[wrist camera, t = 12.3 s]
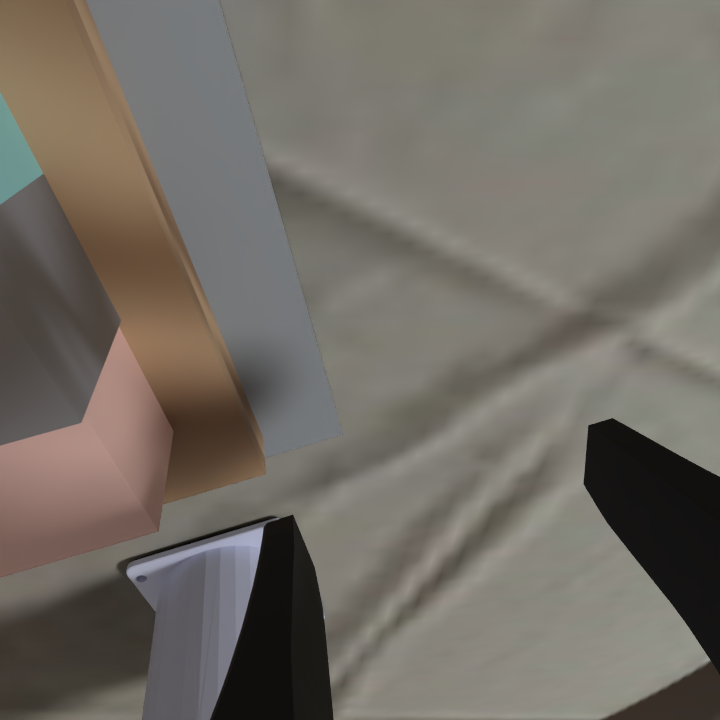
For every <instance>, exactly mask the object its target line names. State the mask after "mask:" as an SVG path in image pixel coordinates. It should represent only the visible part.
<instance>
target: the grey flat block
mask: <svg viewBox="0 0 720 720" xmlns="http://www.w3.org/2000/svg"><path fill="white" fill-rule="evenodd" d="M86 2H87V5H88V7H89V10H90V12H91V15H92V17H93V19H94V22H95V24H96V27H97V29H98V32H99V34H100V37H101V39H102V42H103V44H104V47H105V49H106V52H107V54H108V56H109V59H110V61H111V64H112V66H113V69H114V71H115V74H116V76H117V79H118V81H119V84H120V86H121V88H122V91H123V93H124V96H125V98H126V101H127V103H128V106H129V108H130V111H131V113H132V116H133V118H134V120H135V123H136V125H137V128H138V130H139V133H140V135H141V138H142V140H143V143H144V145H145V148H146V150H147V152H148V155H149V157H150V160H151V162H152V165H153V167H154V170H155V172H156V175H157V177H158V180H159V182H160V185H161V187H162V189H163V192H164V194H165V197H166V199H167V202H168V204H169V207H170V209H171V212H172V214H173V217H174V219H175V221H176V224H177V226H178V229H179V231H180V234H181V236H182V239H183V241H184V244H185V246H186V249H187V251H188V253H189V256H190V258H191V261H192V263H193V266H194V268H195V271H196V273H197V276H198V278H199V281H200V283H201V285H202V288H203V290H204V293H205V295H206V298H207V300H208V303H209V305H210V308H211V310H212V313H213V315H214V317H215V320H216V322H217V325H218V327H219V330H220V332H221V335H222V337H223V340H224V342H225V345H226V347H227V350H228V352H229V354H230V357H231V359H232V362H233V364H234V367H235V369H236V372H237V374H238V377H239V379H240V382H241V384H242V386H243V389H244V391H245V394H246V396H247V399H248V401H249V404H250V406H251V409H252V411H253V414H254V416H255V418H256V421H257V423H258V426H259V428H260V431H261V433H262V436H263V441H264V454H265V458H266V457H269V456H273V455H276V454H280V453H283V452H286V451H290V450H293V449H297V448H300V447H303V446H307V445H310V444H314V443H317V442H320V441H324V440H327V439H331V438H334V437H337V436H341V435H343V433H342V430H341V426H340V423H339V419H338V415H337V412H336V408H335V405H334V401H333V397H332V394H331V390H330V387H329V383H328V380H327V376H326V373H325V369H324V366H323V362H322V359H321V355H320V352H319V348H318V345H317V341H316V338H315V334H314V331H313V327H312V324H311V320H310V317H309V313H308V310H307V306H306V303H305V299H304V296H303V292H302V289H301V285H300V282H299V278H298V275H297V271H296V268H295V264H294V261H293V257H292V254H291V250H290V247H289V243H288V240H287V236H286V233H285V229H284V226H283V222H282V219H281V215H280V212H279V208H278V205H277V201H276V198H275V194H274V191H273V187H272V184H271V180H270V177H269V173H268V170H267V166H266V163H265V159H264V156H263V152H262V149H261V145H260V142H259V138H258V135H257V131H256V128H255V124H254V121H253V117H252V114H251V110H250V107H249V103H248V100H247V96H246V93H245V89H244V86H243V82H242V79H241V75H240V72H239V68H238V65H237V61H236V58H235V54H234V51H233V47H232V44H231V40H230V37H229V33H228V30H227V26H226V23H225V19H224V16H223V12H222V9H221V5H220V2H219V0H86Z"/></svg>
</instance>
